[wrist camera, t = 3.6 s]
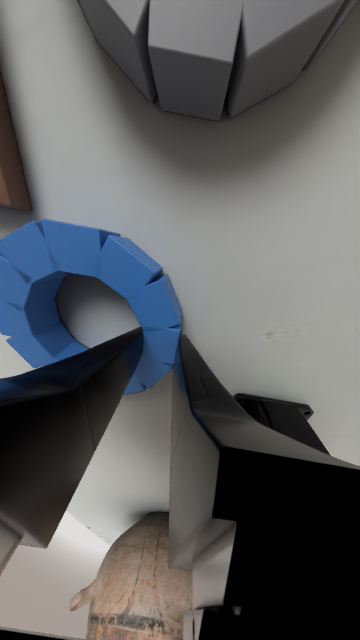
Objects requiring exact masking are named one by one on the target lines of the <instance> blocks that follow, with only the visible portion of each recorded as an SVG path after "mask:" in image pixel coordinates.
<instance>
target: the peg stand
mask: <svg viewBox="0 0 360 640" xmlns="http://www.w3.org/2000/svg"><path fill="white" fill-rule="evenodd" d="M0 206H6V207H11V208H17V209H22V210H27V211H31V210H32V209H31V205H30V200H29V196H28V192H27V187H26V183H25V179H24V174H23V170H22V166H21V161H20V157H19V153H18V148H17V144H16V140H15V135H14V131H13V127H12V122H11V118H10V113H9V109H8V105H7V100H6V96H5V92H4V87H3V83H2V79H1V74H0Z"/></svg>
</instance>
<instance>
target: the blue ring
mask: <svg viewBox="0 0 360 640" xmlns="http://www.w3.org/2000/svg"><path fill="white" fill-rule="evenodd" d="M41 221H42V222H38V221H31V222H29V223H27V224H26V225H24V226H22V227H21V228H19V229H17V230H16V231H14V232H12V233H11V234H9V235H7V236H6V237H4V238H2V239H1V240H0V333H1V334H2V335H8V336H12V337H10V338H8V339H7V340H6V341H7V342H8V343H9V344H10V345H11V346H12V347H13V348H14V349H15V350H16V351H17V352H18V353H19V354H20V355H21V356H22V357H23V358H24V359H25V360H26V361H27V362H28V363H29V364H30V365H31V366H32V367H33V368H38V367H41V366H46V365H49V364H51V363H54V362H57V361H60V360H63V359H65V358H68V357H71V356H73V355H76V354H78V353H81V352H83V351H85V350H88V348H87V347H85V346H83V345H82V344H80V343H78V342H77V341H75V340H74V338H73V337H72V336H71V335H70V333H69V332H68V331H67V330H66V328H65V327H64V326H63V324H62V323H61V322H60V320H59V315H58V311H57V306H56V302H55V296H56V294H57V292H58V289H59V287H60V285H61V282H62V280H63V277H65V276H67V275H69V274H72V273H74V274H79V275H85V276H90V277H96V278H98V279H99V280H101V281H102V282H103V283H105V284H106V285H108V286H109V287H110V288H112V289H113V290H114V291H116V292H117V293H118V294H120V295H121V296H123V297H124V298H125V299H127V301H128V303H129V304H130V306H131V308H132V310H133V312H134V314H135V315H136V317H137V319H138V321H139V323H140V325H141V327H142V328H143V346H142V355H141V358H140V361H139V364H138V366H137V368H136V370H135V372H134V374H133V376H132V378H131V380H130V382H129V384H128V386H127V388H126V390H125V392H124V394H123V395H128V394H132V393H137V392H142V391H145V390H146V387H148V388H151V387H152V386H153V385H154V384H155V383H157V382H158V381H159V380H160V379H161V378H162V377H163V376H164V375H165V374H166V373H168V372H169V371H170V370H171V368H172V364H174V359H175V354H176V349H177V344H178V339H179V337H180V331H181V324H182V316H181V312H182V309H181V307H180V304H179V302H178V299H177V297H176V294H175V292H174V289H173V287H172V284H171V281H170V279H169V276H168V274H166V275H163V276H160V277H158V278H157V276H158V275H159V274H160V272H161V271H162V269H163V268H162V267H161V266H160V265H159V264H158V263H157V262H155V261H154V260H153V259H152V258H151V257H149V256H148V255H147V254H146V253H145V252H144V251H142V250H141V249H140V248H139V247H138V246H136V245H135V244H134V243H133V242H132V241H131V240H129V239H128V238H123V237H120V234H118V233H114V232H109V231H105V230H101V229H96V228H91V227H85V226H80V225H74V224H69V223H64V222H58V221H53V220H47V219H41Z"/></svg>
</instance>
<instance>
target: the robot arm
mask: <svg viewBox="0 0 360 640" xmlns="http://www.w3.org/2000/svg"><path fill="white" fill-rule="evenodd" d="M142 346H143V328H142V327H139V328H136V329H134V330H132V331H129V332H127V333H125V334H123V335H120V336H118V337H116V338H113V339H111V340H109V341H106V342H104V343H102V344H99V345H97V346H95V347H93V348H90V349H88V350H85V351H83V352H81V353H78V354H76V355H73V356H71V357H68V358H65V359H63V360H60V361H57V362H54V363H51V364H49V365H46V366H43V367H40V368H38V369H35V370H32V371H29V372H26V373H23V374H20V375H17V376H13V377H8V378H2V379H0V576H1V574H2V572H3V571H4V569H5V567H6V565H7V564H8V562H9V560H10V559H11V557H12V555H13V553H14V552H15V550H16V548H17V547H18V545H25V546H31V547H38V548H44V549H45V548H47V547H48V544H49V543H50V541H51V539H52V537H53V535H54V533H55V531H56V529H57V527H58V525H59V523H60V521H61V519H62V517H63V515H64V513H65V511H66V509H67V507H68V505H69V503H70V501H71V499H72V497H73V495H74V493H75V491H76V489H77V487H78V485H79V483H80V481H81V479H82V477H83V475H84V473H85V471H86V469H87V467H88V465H89V462H90V460H91V458H92V456H93V454H94V452H95V450H96V448H97V446H98V444H99V442H100V440H101V438H102V436H103V434H104V432H105V430H106V428H107V426H108V424H109V422H110V420H111V418H112V416H113V414H114V412H115V410H116V408H117V406H118V404H119V402H120V400H121V398H122V396H123V394H124V392H125V390H126V388H127V386H128V384H129V382H130V380H131V378H132V376H133V374H134V372H135V370H136V368H137V366H138V364H139V361H140V358H141V355H142ZM312 414H313V410H312V409H311V408H310V406H309V405H305V404H299V403H293V402H288V401H282V400H276V399H270V398H264V397H259V396H253V395H247V394H236V395H235V396H234V398H233V397H232V396H231V395H230V393H229V392H228V391H227V390H226V389H225V388H224V386H223V385H222V384H221V383H220V382H219V380H218V379H217V378H216V376H215V375H214V374H213V372H212V371H211V370H210V368H209V367H208V366H207V364H206V363H205V361H204V360H203V358H202V357H201V356H200V354H199V353H198V351H197V350H196V349H195V347H194V346H193V344H192V343H191V342H190V340H189V339H188V337H187V336H186V335H185V334H180V337H179V339H178V344H177V349H176V354H175V359H174V366H173V388H172V428H171V466H170V506H169V545H168V568H171V569H178V570H184V571H190V572H192V611H184V613H183V640H360V466H357V465H354V464H351V463H348V462H345V461H342V460H340V459H337V458H334V457H332V456H331V455H330V454H329V452H328V451H327V449H326V448H325V446H324V445H323V444H322V442H321V441H320V439H319V438H318V436H317V435H316V433H315V432H314V430H313V429H312V428H311V426H310V425H309V423H308V422H307V420H308V419H309V418H310V417H311V416H312ZM0 640H86V639H79V638H73V637H66V636H59V635H52V634H46V633H39V632H33V631H26V630H19V629H13V628H6V627H0Z"/></svg>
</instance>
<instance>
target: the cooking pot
mask: <svg viewBox="0 0 360 640" xmlns="http://www.w3.org/2000/svg"><path fill="white" fill-rule="evenodd" d="M168 545H169V513H164V512H152V513H149V514H147V515H146V516H145V517H144V518H143V519H141V520H140V521H139V522H137V523H136V524H134V525H133V526H132V527H131V528H129V529H128V530H127V531H126V532H124V533H123V534H122V535H121V536H120V537H119V538H118V539H117V540H116V541H115V542H114V543H113V545H112V546H111V547H110V549H109V551H108V552H107V554H106V556H105V558H104V560H103V562H102V564H101V566H100V568H99V571H98V574H97V577H96V579H95V580H94V581H93V582H92V583H91V584H90V585H89V586H88V587H86V588H85V589H82V590H81V591H80V592H78V593H77V594H76V595H75V596H74V597H73V598H72V599H71V602H70V606H69V609H70V611H74V610H76V609H78V608H80V607H81V606H83V605H85V604H87V603H90V610H89V616H88V623H87V633H86V640H183V613H184V611H192V572H190V571H184V570H178V569H171V568H168Z"/></svg>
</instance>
